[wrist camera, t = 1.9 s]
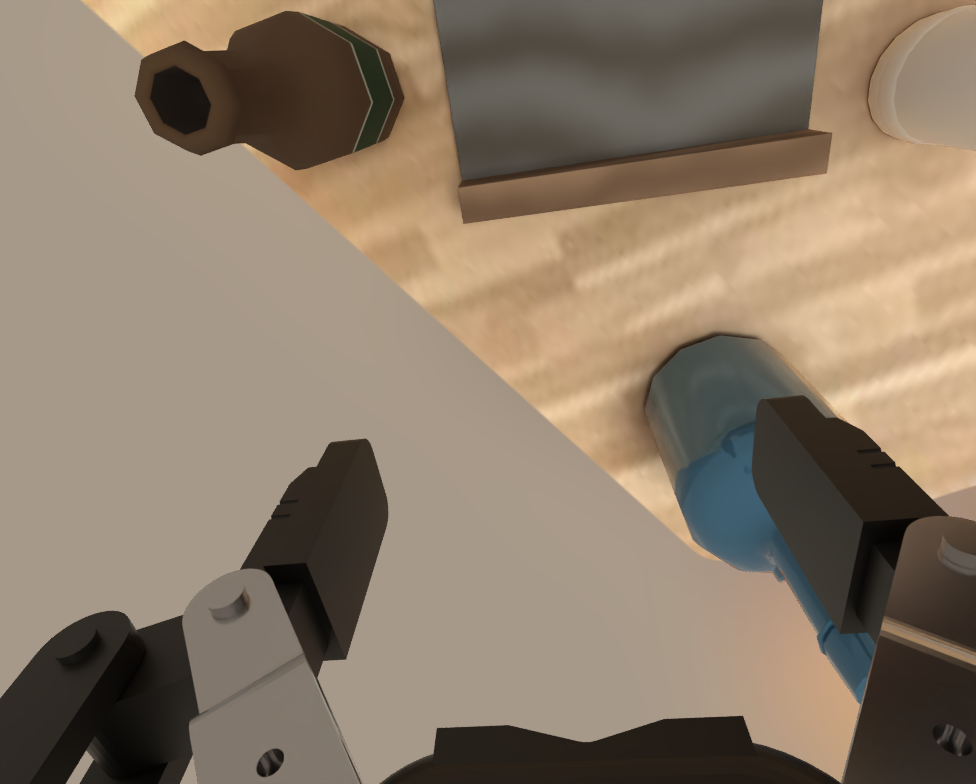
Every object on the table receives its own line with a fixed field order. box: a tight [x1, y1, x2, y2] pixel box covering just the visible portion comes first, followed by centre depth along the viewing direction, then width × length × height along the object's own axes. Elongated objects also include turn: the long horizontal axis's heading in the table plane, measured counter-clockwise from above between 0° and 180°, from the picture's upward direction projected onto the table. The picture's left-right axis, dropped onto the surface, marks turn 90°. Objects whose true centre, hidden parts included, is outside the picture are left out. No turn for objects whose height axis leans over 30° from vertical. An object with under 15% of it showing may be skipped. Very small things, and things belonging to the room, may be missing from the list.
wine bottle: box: [644, 335, 876, 704], centre depth 38 cm, size 14×13×30 cm
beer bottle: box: [135, 11, 404, 170], centre depth 30 cm, size 8×8×24 cm
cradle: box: [434, 0, 832, 224], centre depth 37 cm, size 19×25×4 cm
